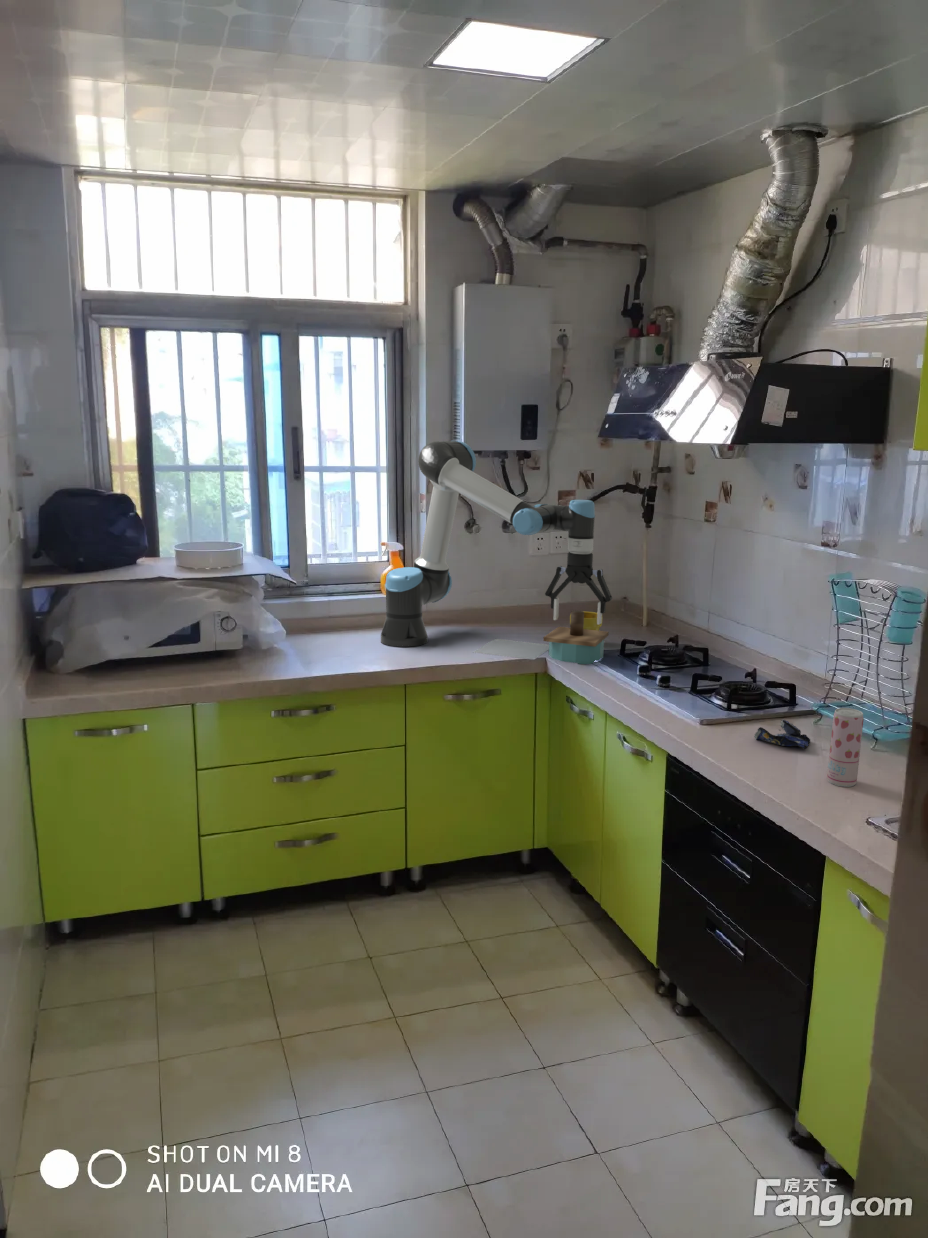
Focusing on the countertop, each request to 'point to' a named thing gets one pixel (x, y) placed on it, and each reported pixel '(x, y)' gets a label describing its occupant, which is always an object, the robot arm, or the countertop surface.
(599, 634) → the lid
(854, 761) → the beverage can
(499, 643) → the mat
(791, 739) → the snack package
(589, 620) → the plant pot
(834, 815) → the countertop surface
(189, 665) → the countertop surface
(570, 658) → the bowl
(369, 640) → the countertop surface
